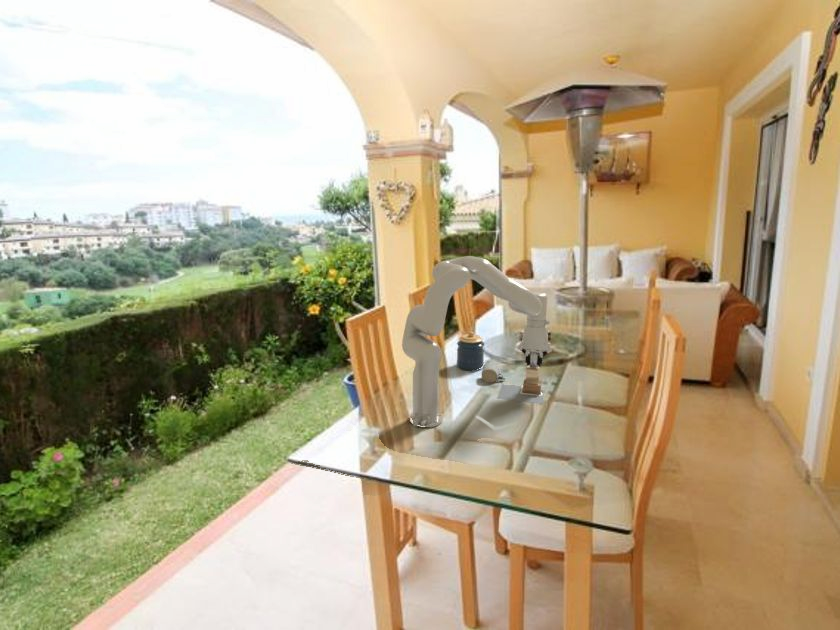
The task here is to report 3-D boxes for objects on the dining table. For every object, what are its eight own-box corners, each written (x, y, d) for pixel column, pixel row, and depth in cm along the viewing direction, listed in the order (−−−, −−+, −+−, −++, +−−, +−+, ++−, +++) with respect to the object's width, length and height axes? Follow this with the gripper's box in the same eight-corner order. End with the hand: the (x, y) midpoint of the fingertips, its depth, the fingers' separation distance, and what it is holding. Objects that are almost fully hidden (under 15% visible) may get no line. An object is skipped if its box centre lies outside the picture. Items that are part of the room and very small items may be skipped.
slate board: (542, 406, 193) (542, 403, 192) (496, 400, 198) (497, 398, 197) (544, 388, 209) (544, 386, 209) (502, 383, 214) (502, 381, 214)
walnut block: (539, 394, 201) (540, 385, 200) (522, 392, 203) (523, 383, 202) (541, 388, 207) (541, 379, 206) (524, 386, 209) (524, 377, 208)
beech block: (538, 384, 201) (538, 371, 199) (525, 383, 202) (526, 369, 201) (538, 380, 205) (539, 366, 204) (526, 378, 207) (527, 365, 205)
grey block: (538, 368, 200) (539, 354, 198) (528, 367, 201) (529, 353, 199) (538, 364, 203) (539, 351, 202) (529, 363, 204) (529, 350, 203)
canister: (483, 372, 228) (484, 336, 223) (455, 370, 230) (456, 335, 225) (483, 362, 240) (485, 328, 236) (457, 361, 242) (458, 327, 238)
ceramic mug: (480, 383, 215) (481, 367, 213) (482, 377, 222) (483, 361, 220) (504, 386, 212) (506, 369, 210) (505, 379, 220) (506, 363, 218)
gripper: (557, 322, 198) (554, 364, 203) (516, 319, 203) (514, 360, 208) (557, 326, 191) (554, 370, 196) (514, 323, 196) (512, 366, 201)
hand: (533, 364), depth 202 cm, fingers closed on grey block, 4 cm apart
